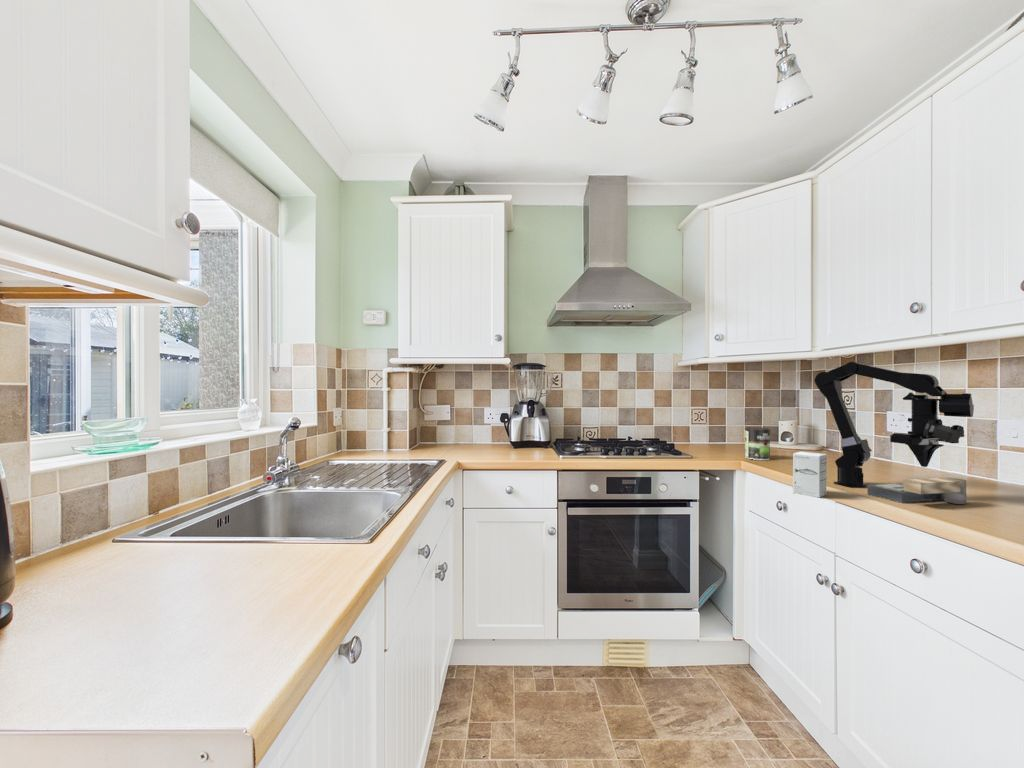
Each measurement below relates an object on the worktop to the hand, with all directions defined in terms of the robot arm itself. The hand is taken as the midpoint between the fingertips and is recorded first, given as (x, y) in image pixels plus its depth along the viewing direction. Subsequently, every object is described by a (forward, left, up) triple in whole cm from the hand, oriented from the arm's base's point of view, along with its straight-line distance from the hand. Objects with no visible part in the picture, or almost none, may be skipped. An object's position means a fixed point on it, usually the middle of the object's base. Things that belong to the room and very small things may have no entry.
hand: (924, 466), depth 135 cm
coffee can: (-71, +2, -9) cm, 72 cm away
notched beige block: (+8, -7, -9) cm, 14 cm away
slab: (0, -5, -9) cm, 10 cm away
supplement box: (-9, -32, -9) cm, 35 cm away
